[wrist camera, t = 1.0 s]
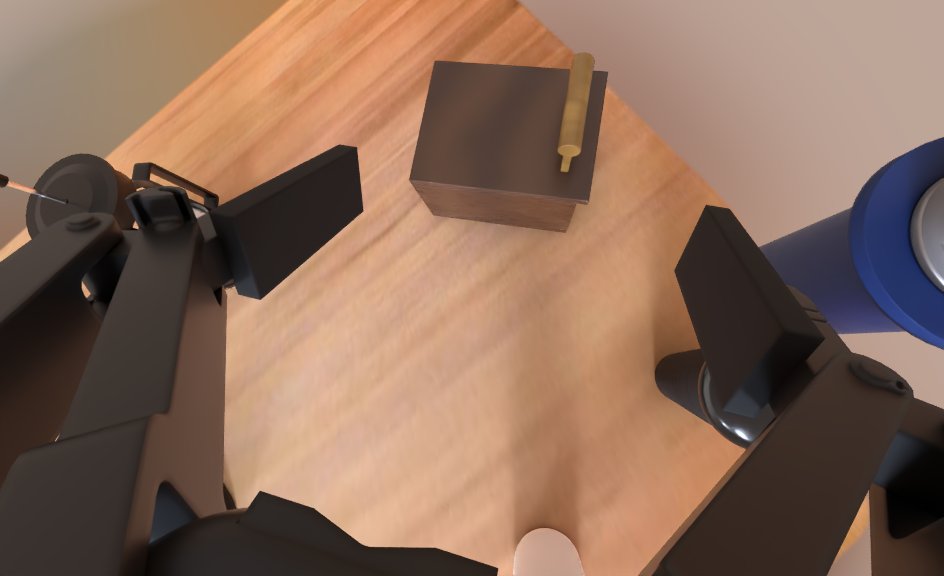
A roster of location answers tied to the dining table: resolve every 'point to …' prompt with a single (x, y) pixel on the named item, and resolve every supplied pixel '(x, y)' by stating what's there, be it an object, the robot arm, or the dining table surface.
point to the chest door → (512, 129)
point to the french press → (97, 192)
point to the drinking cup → (706, 397)
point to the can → (546, 555)
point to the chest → (497, 208)
